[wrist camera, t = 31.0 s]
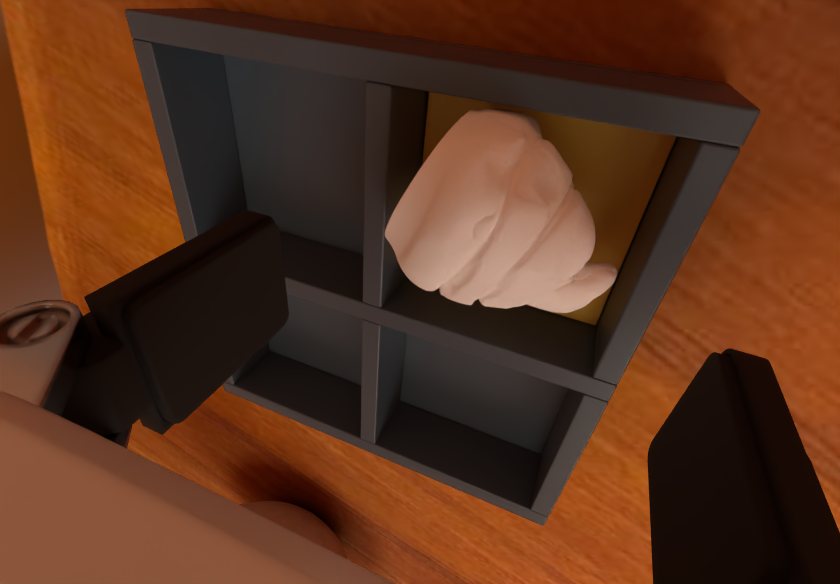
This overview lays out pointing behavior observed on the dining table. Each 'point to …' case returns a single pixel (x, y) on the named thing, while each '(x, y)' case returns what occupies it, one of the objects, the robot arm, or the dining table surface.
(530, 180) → the garlic bulb
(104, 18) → the dining table surface
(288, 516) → the decorative sphere
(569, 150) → the grid
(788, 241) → the dining table surface
